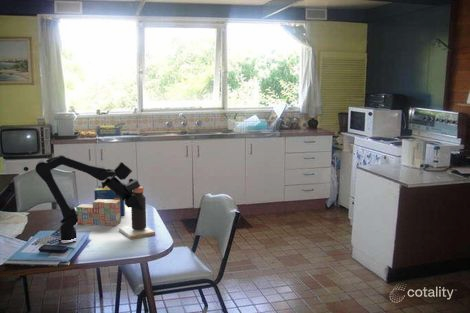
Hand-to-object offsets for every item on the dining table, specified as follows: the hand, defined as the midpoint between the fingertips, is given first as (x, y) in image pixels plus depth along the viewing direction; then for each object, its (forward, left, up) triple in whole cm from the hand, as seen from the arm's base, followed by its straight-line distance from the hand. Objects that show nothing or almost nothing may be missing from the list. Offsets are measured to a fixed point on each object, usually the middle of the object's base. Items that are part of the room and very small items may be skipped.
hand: (141, 208), depth 221 cm
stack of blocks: (-13, +27, -13) cm, 32 cm away
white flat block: (-2, +1, -12) cm, 13 cm away
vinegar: (-1, 0, -10) cm, 10 cm away
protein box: (-2, +39, -13) cm, 41 cm away
